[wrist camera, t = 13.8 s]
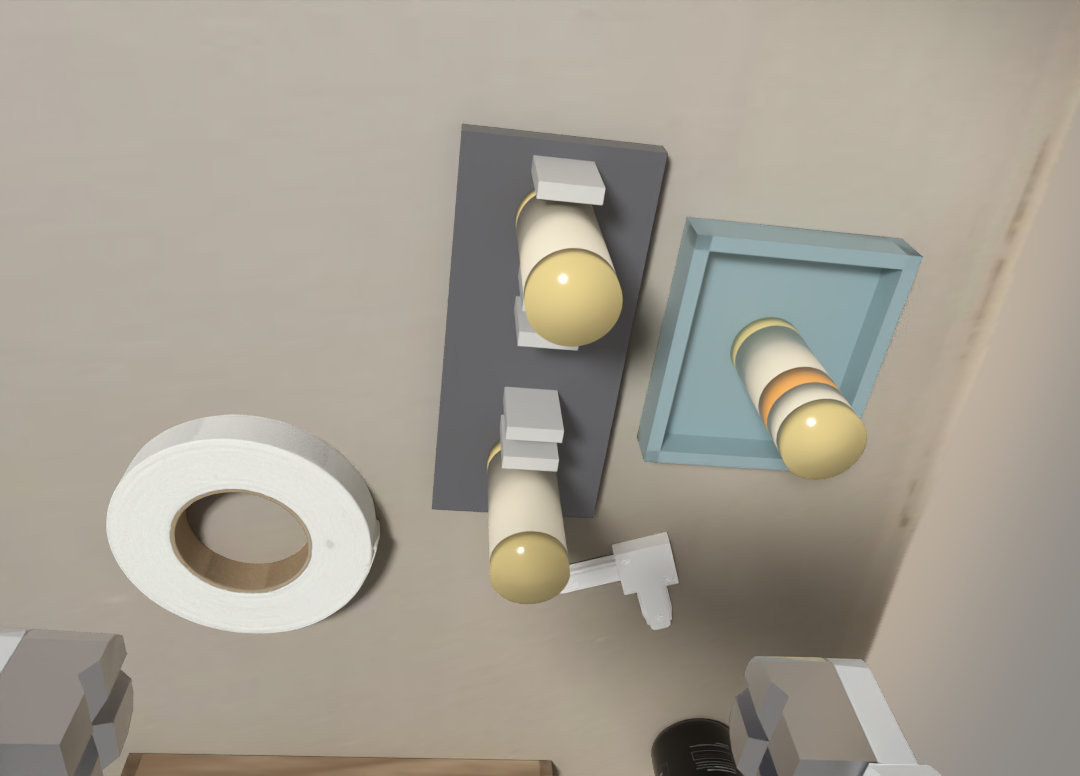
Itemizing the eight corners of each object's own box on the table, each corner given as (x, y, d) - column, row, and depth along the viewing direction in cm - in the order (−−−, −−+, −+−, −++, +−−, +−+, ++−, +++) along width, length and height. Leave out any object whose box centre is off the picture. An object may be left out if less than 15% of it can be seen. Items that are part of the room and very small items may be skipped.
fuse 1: (520, 178, 41) (531, 252, 33) (600, 187, 42) (631, 262, 34) (510, 254, 43) (519, 342, 35) (587, 262, 44) (613, 350, 36)
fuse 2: (490, 431, 49) (494, 542, 41) (558, 436, 49) (575, 546, 41) (483, 486, 51) (486, 602, 43) (549, 489, 51) (564, 605, 43)
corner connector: (574, 633, 61) (576, 650, 59) (548, 553, 57) (549, 570, 55) (683, 608, 60) (688, 626, 59) (665, 526, 56) (669, 542, 55)
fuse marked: (740, 314, 47) (796, 407, 39) (809, 320, 47) (878, 413, 39) (722, 376, 49) (773, 476, 41) (789, 381, 49) (851, 481, 41)
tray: (686, 216, 44) (697, 234, 42) (901, 238, 46) (922, 256, 44) (637, 437, 51) (644, 461, 49) (824, 449, 53) (839, 473, 51)
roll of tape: (174, 617, 57) (160, 650, 55) (81, 431, 49) (60, 461, 46) (401, 585, 57) (398, 617, 54) (346, 394, 49) (339, 422, 46)
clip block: (462, 123, 41) (460, 154, 36) (663, 146, 42) (685, 178, 38) (432, 496, 53) (429, 554, 48) (590, 505, 54) (601, 562, 49)
